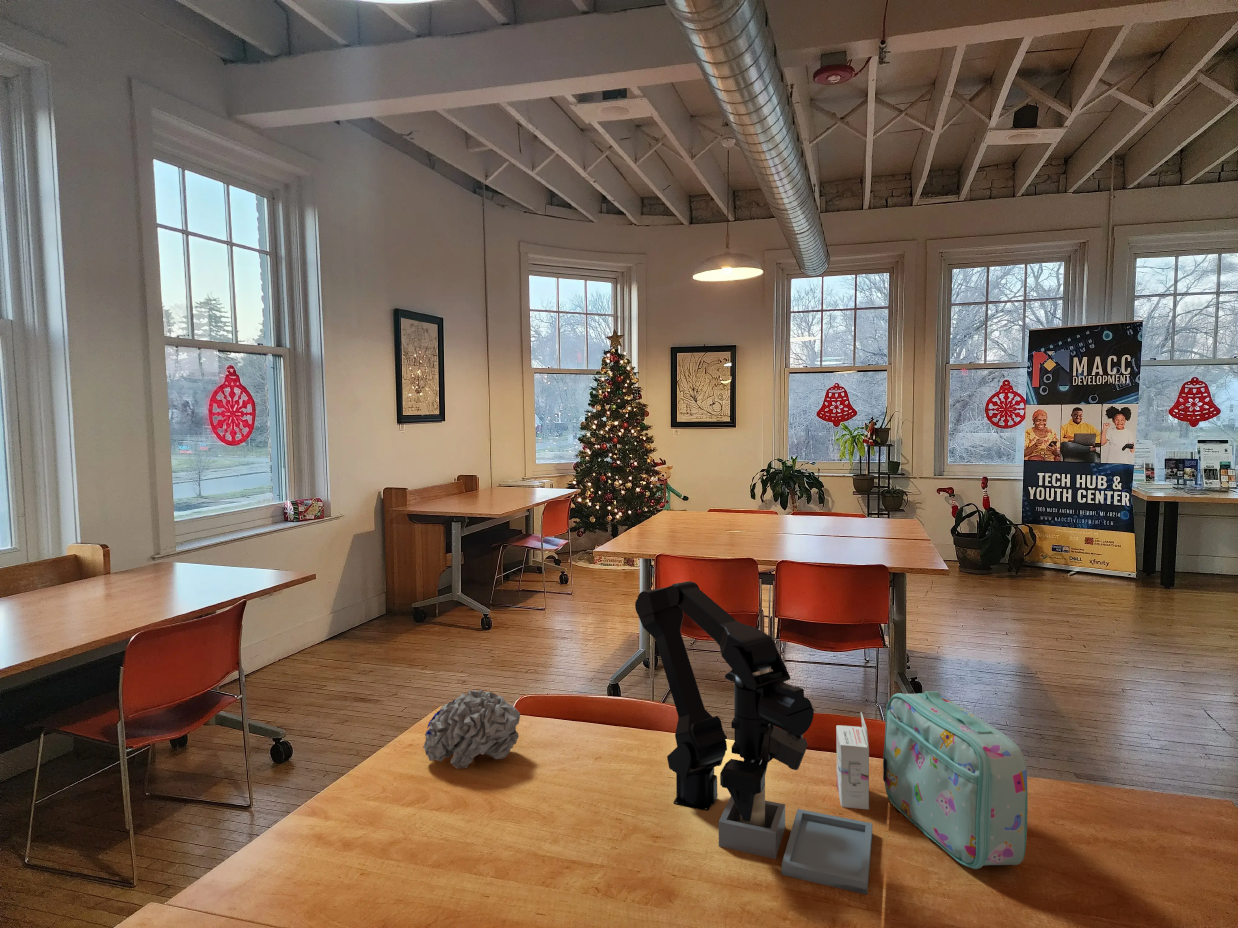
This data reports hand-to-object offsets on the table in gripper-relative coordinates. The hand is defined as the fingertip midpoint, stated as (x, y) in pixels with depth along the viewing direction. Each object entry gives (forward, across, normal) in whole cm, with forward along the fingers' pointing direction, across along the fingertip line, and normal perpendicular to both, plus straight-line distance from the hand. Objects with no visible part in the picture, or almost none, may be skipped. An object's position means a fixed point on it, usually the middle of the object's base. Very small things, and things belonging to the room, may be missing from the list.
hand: (752, 806), depth 113 cm
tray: (+6, 0, -12) cm, 13 cm away
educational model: (+6, +7, +59) cm, 60 cm away
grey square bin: (+6, 0, 0) cm, 6 cm away
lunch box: (+6, +14, -29) cm, 33 cm away
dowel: (+5, 0, 0) cm, 5 cm away
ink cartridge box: (+6, +19, -14) cm, 24 cm away
